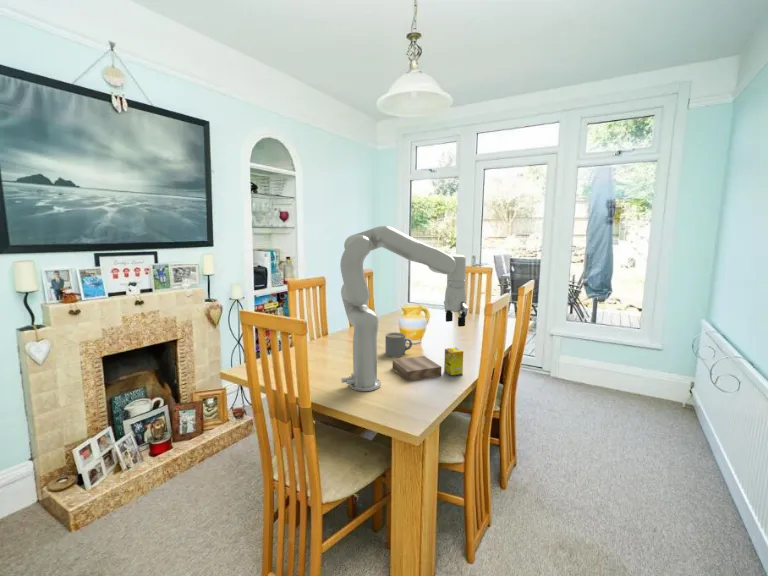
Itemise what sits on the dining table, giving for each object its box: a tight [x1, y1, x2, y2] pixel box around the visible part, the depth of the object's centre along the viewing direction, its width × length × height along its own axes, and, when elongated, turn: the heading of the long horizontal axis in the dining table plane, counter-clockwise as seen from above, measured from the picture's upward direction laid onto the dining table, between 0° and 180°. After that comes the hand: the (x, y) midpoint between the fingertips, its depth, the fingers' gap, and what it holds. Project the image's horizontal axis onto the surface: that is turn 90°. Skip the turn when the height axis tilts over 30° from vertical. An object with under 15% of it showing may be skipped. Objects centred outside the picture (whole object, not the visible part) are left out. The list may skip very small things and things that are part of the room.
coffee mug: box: [385, 331, 413, 358], centre depth 193 cm, size 13×10×10 cm
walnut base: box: [392, 355, 442, 382], centre depth 168 cm, size 16×16×4 cm
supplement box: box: [443, 347, 464, 378], centre depth 165 cm, size 6×6×11 cm
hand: (455, 323), depth 163 cm, fingers open, 9 cm apart
